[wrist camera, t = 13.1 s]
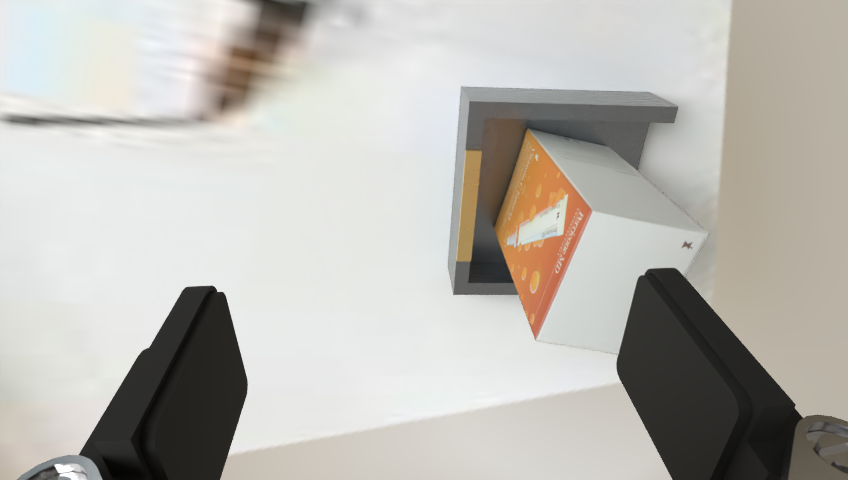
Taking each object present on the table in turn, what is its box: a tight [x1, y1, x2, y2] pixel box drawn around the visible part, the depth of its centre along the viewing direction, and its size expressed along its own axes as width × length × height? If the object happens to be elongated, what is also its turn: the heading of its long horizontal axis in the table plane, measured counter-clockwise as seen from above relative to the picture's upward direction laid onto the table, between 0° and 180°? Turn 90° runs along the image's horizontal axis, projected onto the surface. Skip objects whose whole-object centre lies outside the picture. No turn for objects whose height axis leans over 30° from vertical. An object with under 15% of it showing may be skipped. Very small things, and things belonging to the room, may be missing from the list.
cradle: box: [448, 87, 678, 295], centre depth 36 cm, size 14×13×4 cm
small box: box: [494, 129, 709, 355], centre depth 31 cm, size 8×6×13 cm
